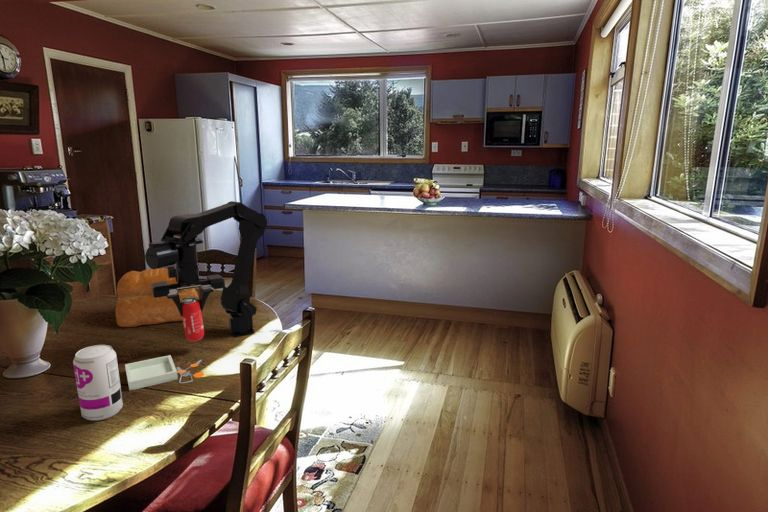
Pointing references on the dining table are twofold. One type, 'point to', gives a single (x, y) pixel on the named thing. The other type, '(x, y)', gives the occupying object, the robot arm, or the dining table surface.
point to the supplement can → (98, 382)
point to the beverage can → (192, 318)
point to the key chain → (189, 372)
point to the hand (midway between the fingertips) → (191, 314)
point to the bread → (146, 299)
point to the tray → (150, 372)
